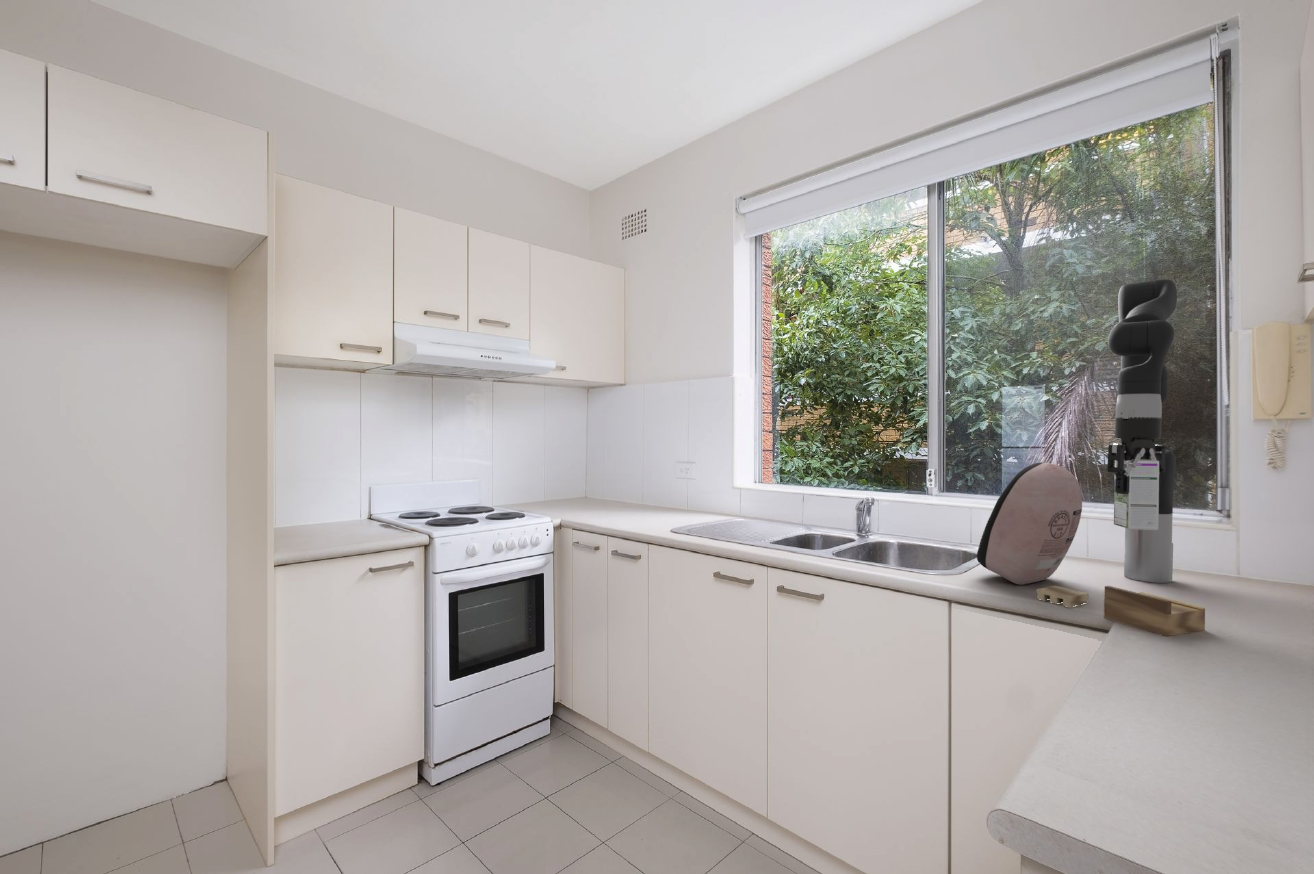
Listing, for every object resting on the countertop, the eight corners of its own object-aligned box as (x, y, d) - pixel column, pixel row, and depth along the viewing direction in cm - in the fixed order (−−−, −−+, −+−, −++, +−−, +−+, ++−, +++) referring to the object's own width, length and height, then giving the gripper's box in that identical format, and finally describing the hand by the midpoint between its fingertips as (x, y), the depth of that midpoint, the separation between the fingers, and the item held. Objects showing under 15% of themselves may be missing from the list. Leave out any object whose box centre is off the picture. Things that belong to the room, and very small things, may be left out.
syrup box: (1159, 530, 120) (1161, 460, 120) (1126, 529, 122) (1128, 459, 121) (1143, 526, 126) (1145, 459, 126) (1111, 524, 127) (1113, 458, 127)
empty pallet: (1053, 595, 134) (1053, 585, 134) (1088, 603, 128) (1088, 593, 128) (1036, 599, 130) (1036, 589, 130) (1071, 608, 124) (1071, 597, 124)
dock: (1140, 612, 122) (1141, 582, 122) (1204, 630, 111) (1205, 596, 111) (1103, 617, 118) (1104, 586, 118) (1166, 636, 108) (1167, 601, 108)
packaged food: (1013, 568, 160) (1015, 458, 159) (1095, 585, 143) (1098, 463, 142) (964, 578, 149) (967, 460, 148) (1048, 598, 132) (1051, 465, 131)
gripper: (1141, 417, 129) (1139, 491, 129) (1095, 415, 125) (1093, 492, 125) (1181, 417, 122) (1179, 495, 122) (1134, 414, 118) (1131, 495, 118)
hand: (1135, 493), depth 124 cm, fingers closed on syrup box, 8 cm apart
